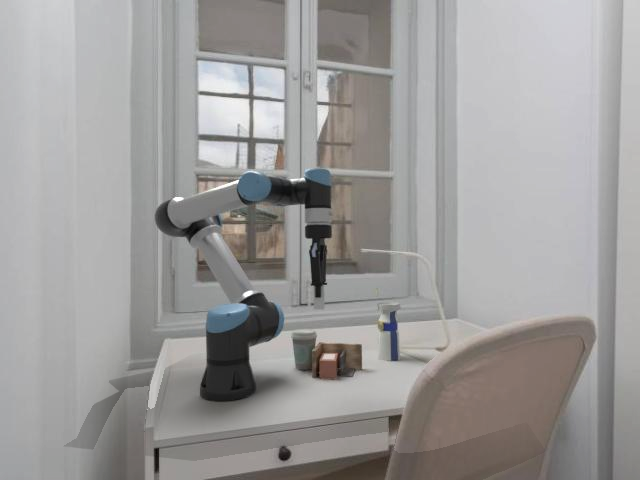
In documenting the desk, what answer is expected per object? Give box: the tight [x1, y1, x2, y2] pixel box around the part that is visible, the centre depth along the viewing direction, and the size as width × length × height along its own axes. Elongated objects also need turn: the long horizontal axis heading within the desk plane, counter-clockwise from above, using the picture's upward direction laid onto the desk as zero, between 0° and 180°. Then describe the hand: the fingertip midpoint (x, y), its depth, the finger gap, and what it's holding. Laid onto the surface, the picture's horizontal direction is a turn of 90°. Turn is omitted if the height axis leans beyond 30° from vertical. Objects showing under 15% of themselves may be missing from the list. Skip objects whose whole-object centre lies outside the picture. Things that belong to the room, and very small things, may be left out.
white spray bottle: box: [375, 289, 402, 362], centre depth 144 cm, size 8×9×25 cm
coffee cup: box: [291, 328, 318, 371], centre depth 134 cm, size 8×8×12 cm
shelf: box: [311, 341, 363, 378], centre depth 128 cm, size 14×11×8 cm
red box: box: [319, 353, 339, 380], centre depth 127 cm, size 5×9×6 cm, turn 174°
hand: (319, 308), depth 113 cm, fingers closed
